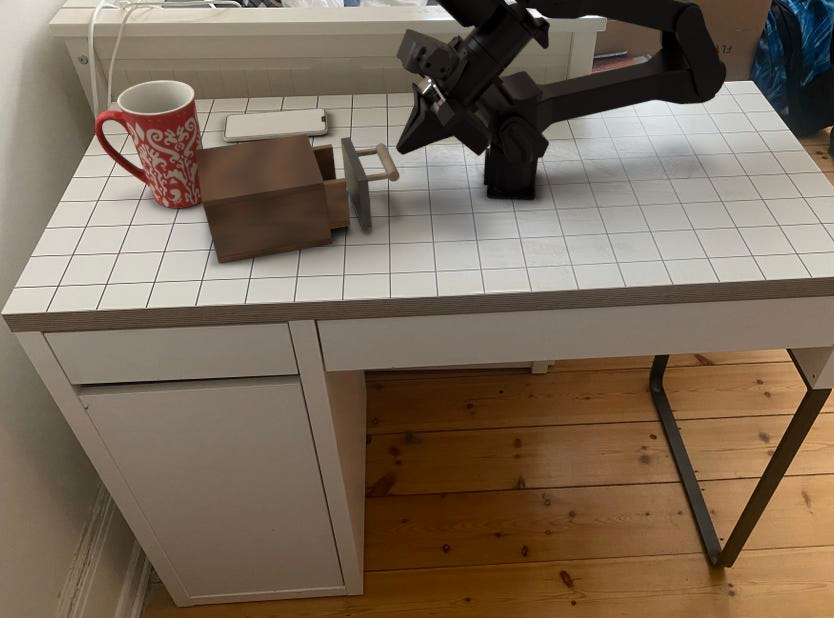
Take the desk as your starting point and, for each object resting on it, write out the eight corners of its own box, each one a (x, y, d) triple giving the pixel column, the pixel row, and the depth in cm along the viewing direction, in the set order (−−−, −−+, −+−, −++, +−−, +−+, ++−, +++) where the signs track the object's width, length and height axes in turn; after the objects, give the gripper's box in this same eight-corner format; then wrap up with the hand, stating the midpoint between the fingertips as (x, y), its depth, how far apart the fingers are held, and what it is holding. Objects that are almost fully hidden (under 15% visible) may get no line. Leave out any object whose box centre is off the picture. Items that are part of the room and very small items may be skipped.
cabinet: (315, 193, 99) (307, 133, 93) (332, 243, 92) (324, 182, 86) (210, 210, 97) (195, 149, 91) (218, 263, 89) (201, 201, 83)
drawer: (385, 178, 100) (382, 132, 96) (405, 221, 93) (402, 173, 89) (259, 198, 97) (249, 151, 92) (270, 245, 90) (260, 196, 85)
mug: (221, 172, 103) (198, 77, 93) (215, 210, 97) (190, 111, 87) (126, 178, 102) (93, 82, 92) (114, 217, 95) (77, 118, 86)
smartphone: (225, 114, 113) (325, 107, 115) (226, 118, 114) (326, 111, 115) (222, 139, 108) (327, 130, 109) (223, 143, 108) (328, 135, 110)
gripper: (417, -24, 88) (333, 80, 93) (466, 39, 75) (367, 154, 81) (478, 36, 95) (398, 129, 101) (533, 103, 82) (437, 204, 88)
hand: (399, 151), depth 92 cm, fingers closed
